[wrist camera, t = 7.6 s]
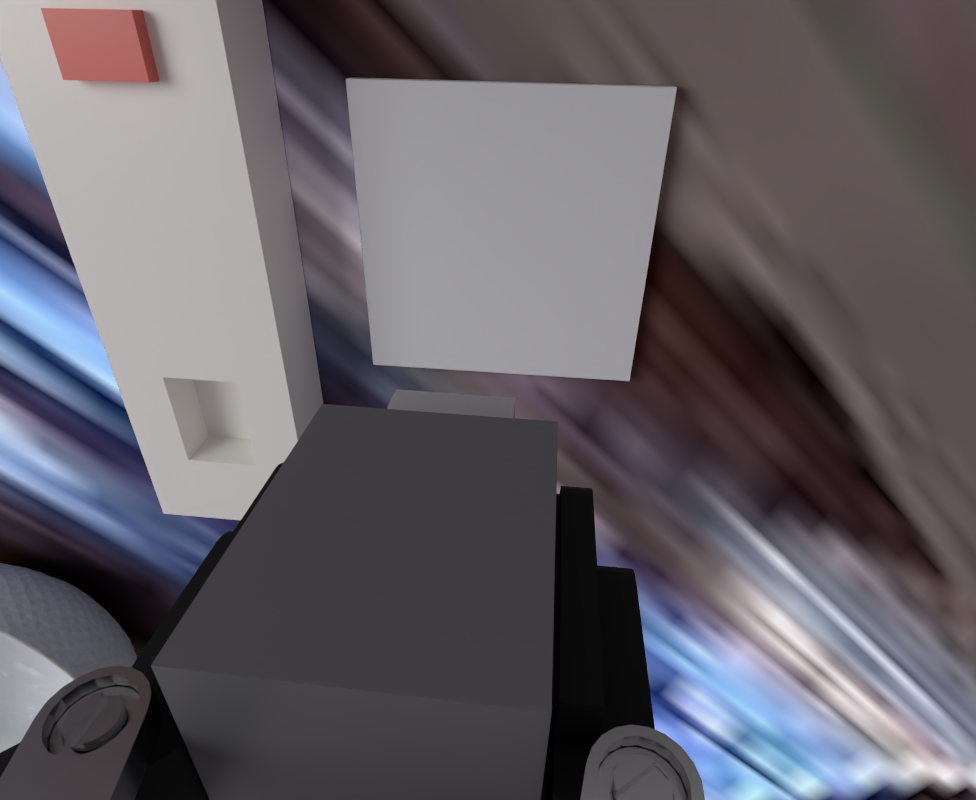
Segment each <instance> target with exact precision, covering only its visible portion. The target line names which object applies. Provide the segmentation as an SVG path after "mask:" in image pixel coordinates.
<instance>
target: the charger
mask: <svg viewBox="0 0 976 800" xmlns="http://www.w3.org/2000/svg"><path fill="white" fill-rule="evenodd" d="M514 416H515V398H506V397H492V396H478V395H465V394H451V393H437V392H424V391H410V390H396V391H395V393H394V395H393V397H392V399H391V401H390V403H389V405H388V407H387V409H383V408H369V407H356V406H343V405H330V404H322V405H321V406H320V408H319V409H318V411H317V412H316V414H315V416H314V417H313V419H312V420H311V422H310V423H309V425H308V426H307V428H306V429H305V431H304V432H303V434H302V435H301V437H300V438H299V440H298V442H297V443H296V445H295V446H294V448H293V449H292V451H291V452H290V454H289V455H288V457H287V458H286V460H285V461H284V463H283V464H282V466H281V467H280V469H279V471H278V472H277V474H276V475H275V477H274V478H273V480H272V481H271V483H270V484H269V486H268V487H267V489H266V490H265V492H264V493H263V495H262V496H261V498H260V500H259V501H258V503H257V504H256V506H255V507H254V509H253V510H252V512H251V513H250V515H249V516H248V518H247V519H246V521H245V522H244V524H243V525H242V527H241V529H240V530H239V532H238V533H237V535H236V536H235V538H234V539H233V541H232V542H231V544H230V545H229V547H228V548H227V550H226V551H225V553H224V554H223V556H222V558H221V559H220V561H219V562H218V564H217V565H216V567H215V568H214V570H213V571H212V573H211V574H210V576H209V577H208V579H207V580H206V582H205V584H204V585H203V587H202V588H201V590H200V591H199V593H198V594H197V596H196V597H195V599H194V600H193V602H192V603H191V605H190V606H189V608H188V609H187V611H186V613H185V614H184V616H183V617H182V619H181V620H180V622H179V623H178V625H177V626H176V628H175V629H174V631H173V632H172V634H171V635H170V637H169V638H168V640H167V642H166V643H165V645H164V646H163V648H162V649H161V651H160V652H159V654H158V655H157V657H156V658H155V660H154V661H153V663H152V664H151V667H152V670H153V672H154V674H155V676H156V679H157V681H158V683H159V685H160V688H161V690H162V692H163V695H164V697H165V699H166V701H167V704H168V706H169V708H170V711H171V713H172V715H173V717H174V720H175V722H176V724H177V726H178V729H179V731H180V733H181V736H182V738H183V740H184V742H185V745H186V747H187V749H188V751H189V754H190V756H191V758H192V761H193V763H194V765H195V767H196V770H197V772H198V774H199V776H200V779H201V781H202V783H203V786H204V788H205V790H206V792H207V795H208V797H209V799H210V800H541V792H542V784H543V776H544V768H545V761H546V753H547V745H548V737H549V729H550V721H551V713H552V671H553V624H554V578H555V531H556V484H557V438H558V422H554V421H541V420H527V419H514Z"/></svg>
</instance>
